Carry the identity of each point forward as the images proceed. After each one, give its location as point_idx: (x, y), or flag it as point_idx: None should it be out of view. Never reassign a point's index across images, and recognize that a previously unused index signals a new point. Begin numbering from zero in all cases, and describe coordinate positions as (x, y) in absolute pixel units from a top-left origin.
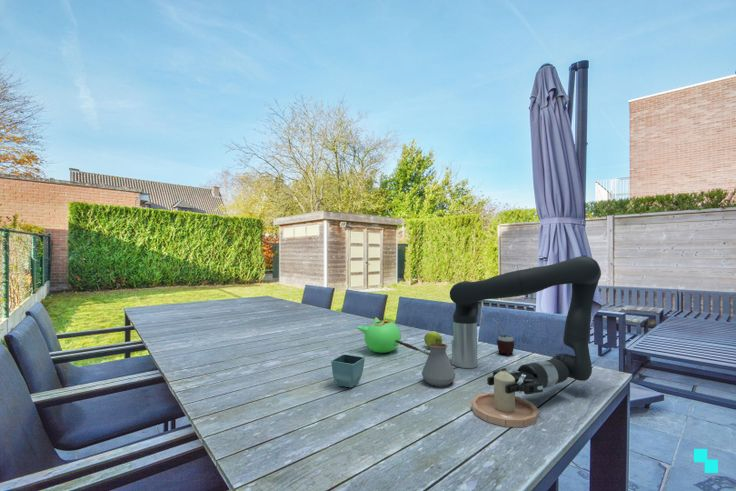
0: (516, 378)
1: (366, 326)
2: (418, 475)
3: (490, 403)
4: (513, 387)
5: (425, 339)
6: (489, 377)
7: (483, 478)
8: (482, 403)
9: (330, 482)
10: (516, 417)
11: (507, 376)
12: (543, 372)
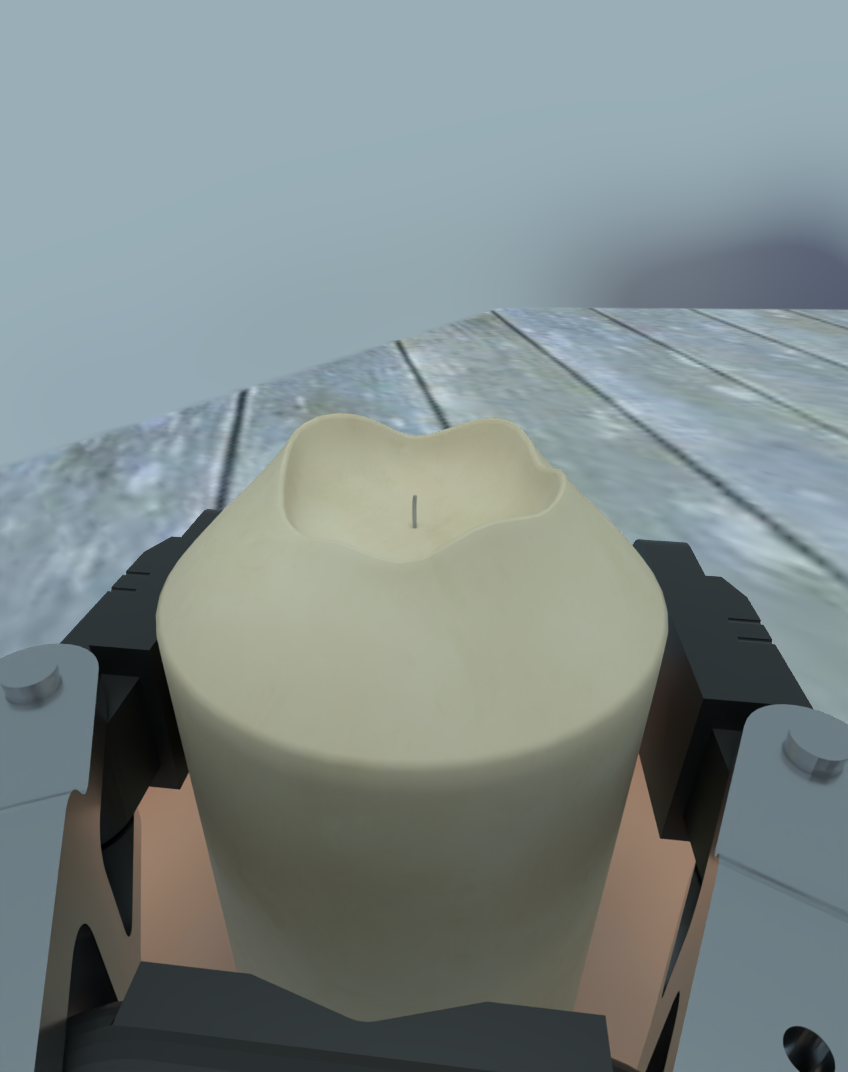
0: (252, 1003)
1: None
2: (298, 387)
3: (628, 937)
4: (128, 569)
5: None
6: (660, 542)
7: (128, 439)
8: (660, 843)
9: (412, 338)
10: (154, 868)
11: (276, 458)
12: None
